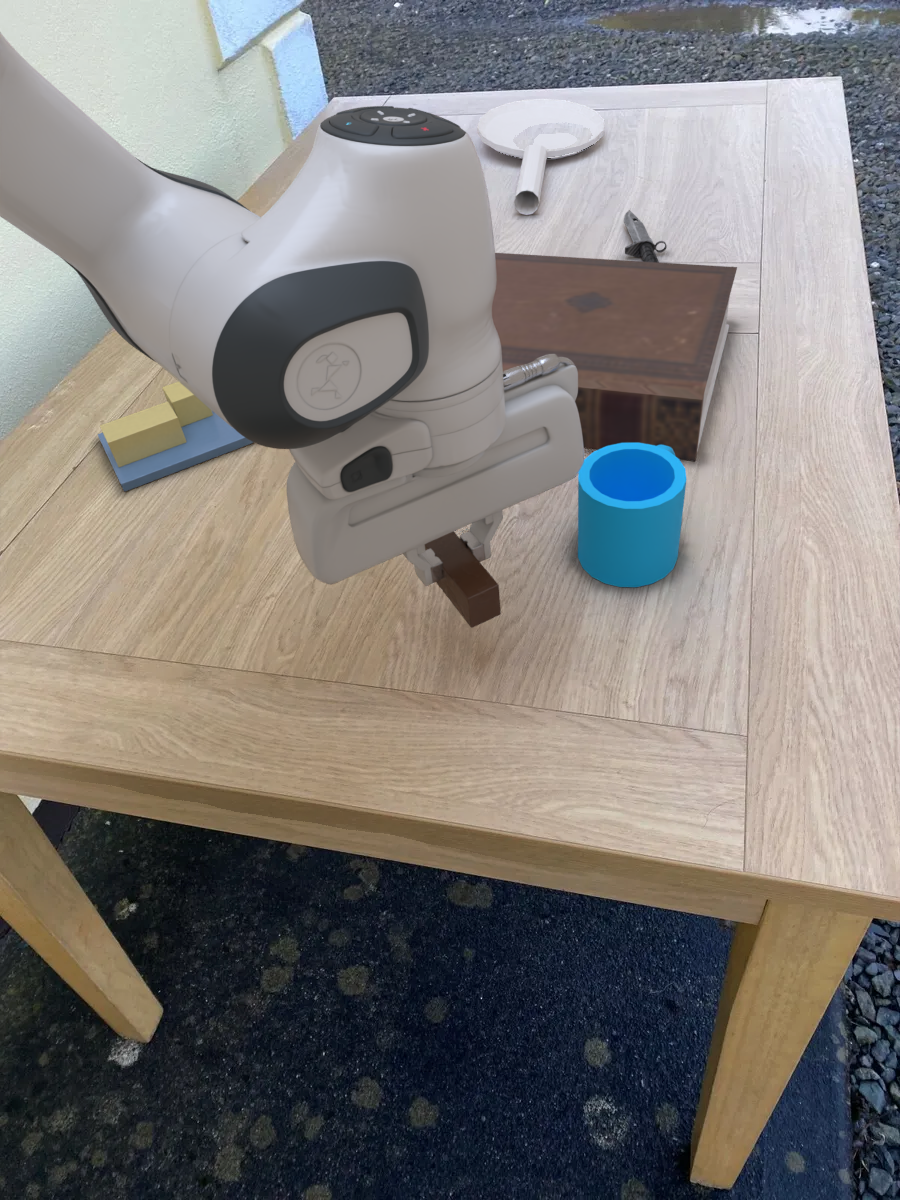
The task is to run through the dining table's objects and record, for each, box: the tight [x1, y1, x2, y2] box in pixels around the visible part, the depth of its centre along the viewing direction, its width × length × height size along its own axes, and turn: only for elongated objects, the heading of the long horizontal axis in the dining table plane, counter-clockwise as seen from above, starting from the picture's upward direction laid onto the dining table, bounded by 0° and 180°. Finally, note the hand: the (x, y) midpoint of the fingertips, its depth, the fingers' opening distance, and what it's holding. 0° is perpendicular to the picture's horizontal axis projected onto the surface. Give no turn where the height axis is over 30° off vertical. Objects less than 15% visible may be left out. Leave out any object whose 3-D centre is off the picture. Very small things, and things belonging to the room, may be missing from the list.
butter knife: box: [425, 531, 502, 629], centre depth 68 cm, size 2×20×3 cm, turn 28°
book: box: [492, 252, 738, 462], centre depth 92 cm, size 24×28×6 cm
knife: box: [623, 209, 668, 263], centre depth 111 cm, size 19×2×5 cm
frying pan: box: [476, 98, 605, 216], centre depth 133 cm, size 35×19×5 cm, turn 172°
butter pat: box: [161, 380, 213, 427], centre depth 93 cm, size 4×4×3 cm
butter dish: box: [97, 400, 255, 492], centre depth 92 cm, size 14×10×4 cm
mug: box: [577, 443, 687, 588], centre depth 73 cm, size 12×8×8 cm
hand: (453, 567), depth 64 cm, fingers closed on butter knife, 2 cm apart
